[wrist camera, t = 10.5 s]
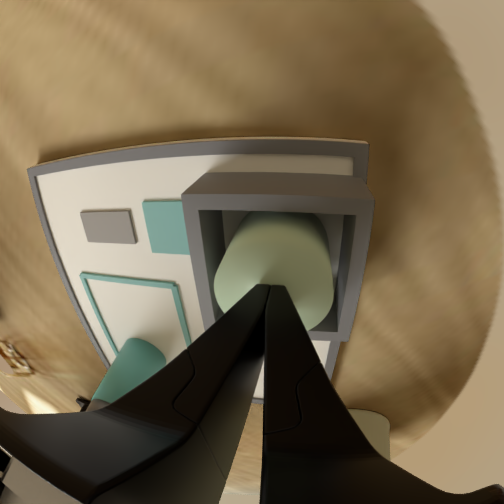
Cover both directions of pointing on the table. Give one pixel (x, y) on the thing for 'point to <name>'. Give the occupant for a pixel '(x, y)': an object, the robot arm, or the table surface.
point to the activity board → (194, 231)
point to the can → (374, 429)
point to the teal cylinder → (128, 371)
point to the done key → (279, 262)
